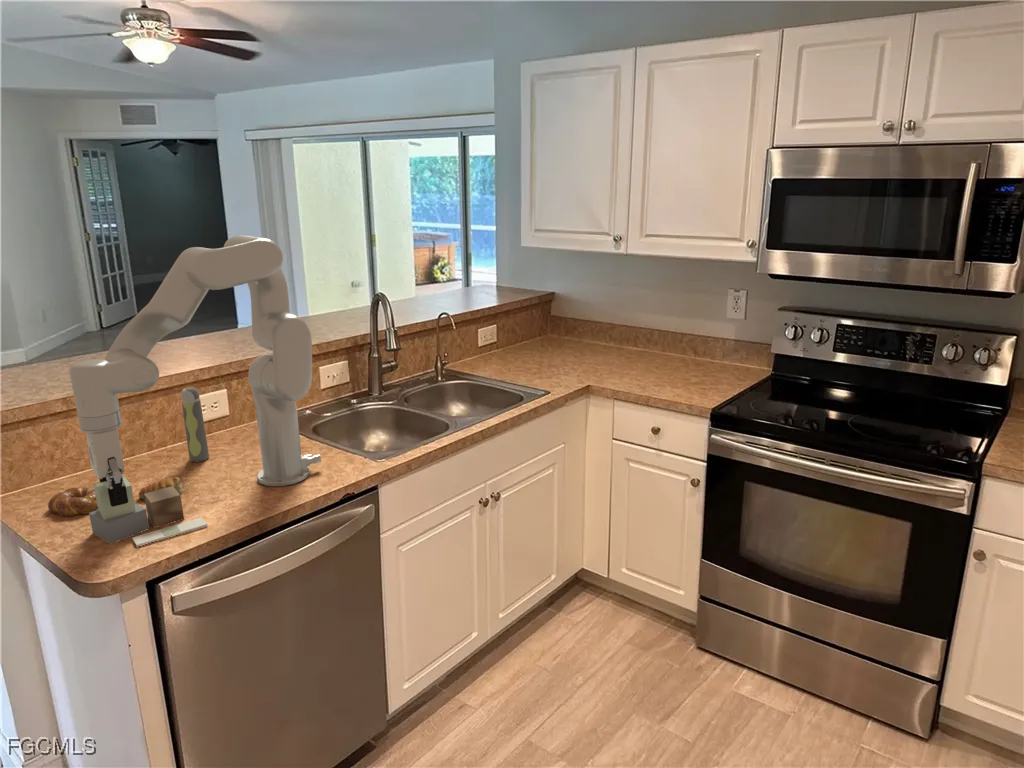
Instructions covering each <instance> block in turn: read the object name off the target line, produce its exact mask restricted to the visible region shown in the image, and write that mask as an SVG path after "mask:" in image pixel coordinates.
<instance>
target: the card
mask: <svg viewBox="0 0 1024 768" xmlns="http://www.w3.org/2000/svg"><path fill="white" fill-rule="evenodd" d="M207 526H208V527H209V524H208V523H207V521H205V519H204V518H203V517H198V518H195V519H192V520H189V521H185V522H181V523H178V524H175V525H171V526H168V527H164V528H161V529H157V530H153V531H150V532H147V533H144V534H140V535H137V536H136V535H135V536H131V537H132V541H133V543H134V542H135V543H134V544H136V545H135V547H137V546H141V545H143V544H146V543H150V542H154V541H157V542H159V541H158V540H161V541H163V540H162V539H164V540H166V539H165V538H168V537H171V536H174V535H178V534H181V533H184V534H186V533H185V532H188V531H191V532H193V531H192V530H194V531H197V530H196V529H198V530H201V529H204V528H207ZM200 528H201V529H200ZM188 533H189V532H188ZM181 535H182V534H181ZM178 536H179V535H178ZM174 537H175V536H174ZM171 538H172V537H171ZM168 539H169V538H168ZM154 543H155V542H154ZM141 547H142V546H141Z"/></svg>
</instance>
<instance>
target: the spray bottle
mask: <svg viewBox="0 0 1024 768" xmlns="http://www.w3.org/2000/svg"><path fill="white" fill-rule="evenodd" d="M180 394H181V401H182V402H181V403H182V404H181V405H182V412H183V419H184V420H183V422H184V428H185V437H186V443H187V450H188V457H189V460H190V461H191V462H194V463H200V462H204V461H206V460H208V458H210V453H209V446H208V441H207V435H206V427H205V423H204V422H205V421H204V415H203V409H202V404H201V399H200V394H199V391H198V388H196V387H194V386H188V387H185V388H183V389H182V390H181V393H180Z"/></svg>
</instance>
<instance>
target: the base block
mask: <svg viewBox="0 0 1024 768" xmlns="http://www.w3.org/2000/svg"><path fill="white" fill-rule="evenodd" d="M135 509H136V511H135V512H132V513H128V514H124V515H121V516H117V517H113V518H109V519H106V520H104V519H103V517H102V515H101V514H100V512H99V510H98V509H96V510H95V511H93V512H90V513H88V515H89V520H90V526H91V531H92V534H93V535H96V537H98V538H100V539H102V540H103V539H104V540H103V541H105V542H107V541H108V542H109V544H110V543H113V542H115V543H117V542H116V541H118V540H120V541H122V539H123V540H125V539H127V537H128V538H130V537H133V536H136V535H137V533H138V534H140V533H142V532H141V531H143V532H145V531H147V530H146V529H148V530H149V529H150V525H149V520H148V519H149V518H148V514H147V508H145V507H143V506H141V505H139V504H138V503H135ZM144 530H145V531H144ZM139 532H140V533H139ZM132 535H133V536H132ZM129 536H130V537H129ZM124 538H125V539H124ZM108 542H107V543H108ZM118 542H119V541H118ZM113 544H114V543H113Z"/></svg>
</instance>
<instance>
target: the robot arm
mask: <svg viewBox="0 0 1024 768" xmlns="http://www.w3.org/2000/svg"><path fill="white" fill-rule="evenodd" d="M282 265H283V252H282V250H281V247H280V246H279V245H278V244H277V243H276V242H275V241H274V240H272V239H269V238H267V237H266V238H265V237H259V236H258V237H257V236H253V235H242V234H241V235H234V236H231V237H229V238H228V239H227V240H226V241H225V243H224V245H223V247H220V248H219V247H218V248H209V247H208V248H206V247H199V246H193V247H189V248H187V249H185V250H183V251H182V252H181V253H180V255H178V257H177V259H176V260H175V262H174V264H173V265H172V267H171V268H170V270H169V271H168V273H167V274H166V276H165V277H164V279H163V281H162V283H161V284H160V285H159V287H158V289H157V290H156V292H155V293H154V295H153V296H152V298H151V299H150V301H149V302H148V303H147V304H146V305H145V306H144V307H143V308H142V309H140V311H139V312H138V313H137V314H136V315H135V316H134V317H133V318H131V319H130V321H128V322H127V324H126V325H125V326H124V327H123V328H122V330H121V331H120V332H119V333H118V335H117V336H116V338H115V340H114V341H113V342H112V345H111V346H110V348H109V349H108V351H107V353H106V355H105V357H104V359H100V358H99V359H98V358H97V359H95V358H94V359H88V360H82V361H78V362H76V363H74V364H72V365H71V366H70V368H69V377H70V378H69V379H70V382H71V388H72V391H73V397H74V402H75V403H74V404H75V408H76V413H77V419H78V423H79V428H80V432H82V433H85V434H86V440H87V441H86V443H87V449H88V455H89V461H90V462H89V463H90V467H91V470H92V471H93V473H94V474H95V476H96V477H97V479H99V483H100V482H104V481H107V482H108V486H109V488H108V494H109V499H110V504H111V506H112V507H114V506H118V505H122V504H126V503H128V497H127V491H126V486H125V484H124V480H123V477H124V476H123V474H124V473H125V465H124V457H123V452H122V447H121V446H122V445H121V441H120V436H119V431H118V428H120V427H122V425H123V419H122V414H121V408H120V403H119V402H120V401H119V398H118V397H119V396H118V394H126V393H127V394H129V393H141V392H144V391H148V390H150V389H152V388H153V387H154V386H155V385H156V384H157V383H158V380H159V379H160V370H159V368H158V366H157V364H156V363H155V362H154V360H152V359H150V358H149V357H148V356H149V354H150V353H151V351H152V349H154V348H155V346H156V344H157V343H158V342H159V341H161V340H162V339H163V338H164V337H166V336H167V335H169V334H170V333H173V332H175V331H177V330H181V328H182V329H183V328H184V326H186V325H188V324H189V323H190V322H191V320H192V319H193V316H194V315H195V313H196V311H197V309H198V308H199V306H200V305H201V303H202V301H203V300H204V299H205V297H206V295H207V293H208V292H209V291H210V290H212V291H214V290H215V291H216V290H217V291H219V290H224V289H229V288H234V287H238V286H242V285H245V284H247V286H248V289H249V295H250V310H251V312H250V313H251V334H252V339H253V341H254V342H255V344H256V345H258V346H259V347H261V348H263V349H265V350H268V351H272V353H264V354H261V355H259V356H257V357H256V358H254V359H253V361H251V363H250V366H249V368H248V375H247V377H248V383H249V387H250V390H251V394H252V398H253V401H254V407H255V412H256V423H257V430H258V438H259V445H260V446H259V447H260V454H261V455H260V457H261V463H262V464H261V465H262V469H261V470H260V471H259V472H258V473H257V475H256V477H257V482H258V483H259V484H261V485H264V486H266V487H267V486H268V487H285V486H290V485H294V484H297V483H300V482H302V481H304V480H305V479H307V478H308V477H309V476H310V474H311V473H310V466H311V465H312V464H317V463H321V462H322V457H321V455H320V454H317V455H312V454H311V453H310V454H306V455H303V454H302V447H301V437H300V428H299V418H298V416H299V415H298V408H297V403H296V401H299V400H302V399H303V398H305V396H306V395H307V394H308V392H309V391H310V388H311V385H312V381H313V347H312V335H311V331H310V328H309V325H308V324H307V323H306V321H305V320H304V319H303V318H302V317H300V316H298V315H296V314H293V313H291V311H290V300H289V299H290V298H289V288H288V282H287V280H286V277H285V274H284V272H283V270H282V269H281V267H282ZM111 480H112V481H111Z"/></svg>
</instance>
